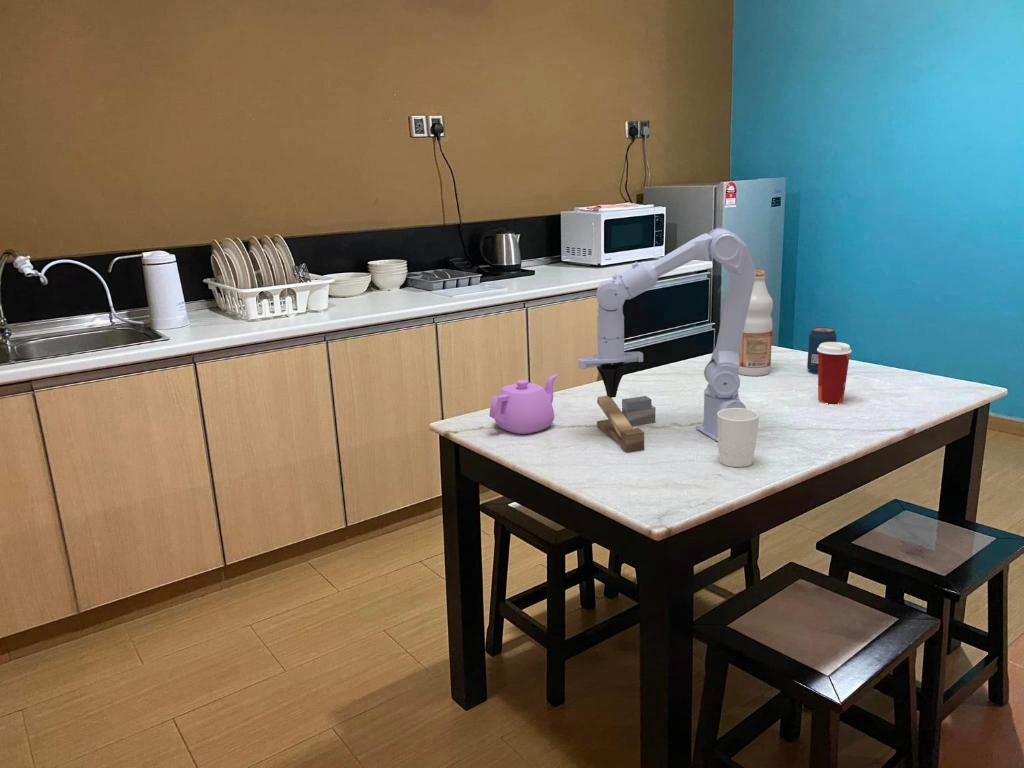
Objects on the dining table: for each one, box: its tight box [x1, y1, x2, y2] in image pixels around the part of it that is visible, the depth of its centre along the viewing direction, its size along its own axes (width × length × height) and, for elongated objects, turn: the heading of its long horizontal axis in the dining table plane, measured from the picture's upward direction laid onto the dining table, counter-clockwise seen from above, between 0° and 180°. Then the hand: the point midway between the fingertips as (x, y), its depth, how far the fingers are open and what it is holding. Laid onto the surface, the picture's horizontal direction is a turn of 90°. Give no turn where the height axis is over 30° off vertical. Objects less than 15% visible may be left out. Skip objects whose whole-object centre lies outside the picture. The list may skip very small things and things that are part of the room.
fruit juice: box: [738, 269, 774, 377], centre depth 214 cm, size 9×9×28 cm
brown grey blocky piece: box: [596, 404, 656, 454], centre depth 175 cm, size 18×14×4 cm
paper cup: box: [817, 341, 853, 405], centre depth 189 cm, size 8×8×14 cm
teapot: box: [488, 373, 559, 435], centre depth 183 cm, size 13×20×11 cm
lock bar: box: [621, 395, 653, 411], centre depth 181 cm, size 3×6×2 cm, turn 107°
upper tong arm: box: [596, 395, 634, 437], centre depth 174 cm, size 14×3×2 cm, turn 17°
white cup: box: [717, 408, 760, 468], centre depth 157 cm, size 8×8×10 cm
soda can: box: [806, 326, 837, 375], centre depth 213 cm, size 7×7×12 cm
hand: (611, 396), depth 174 cm, fingers closed
